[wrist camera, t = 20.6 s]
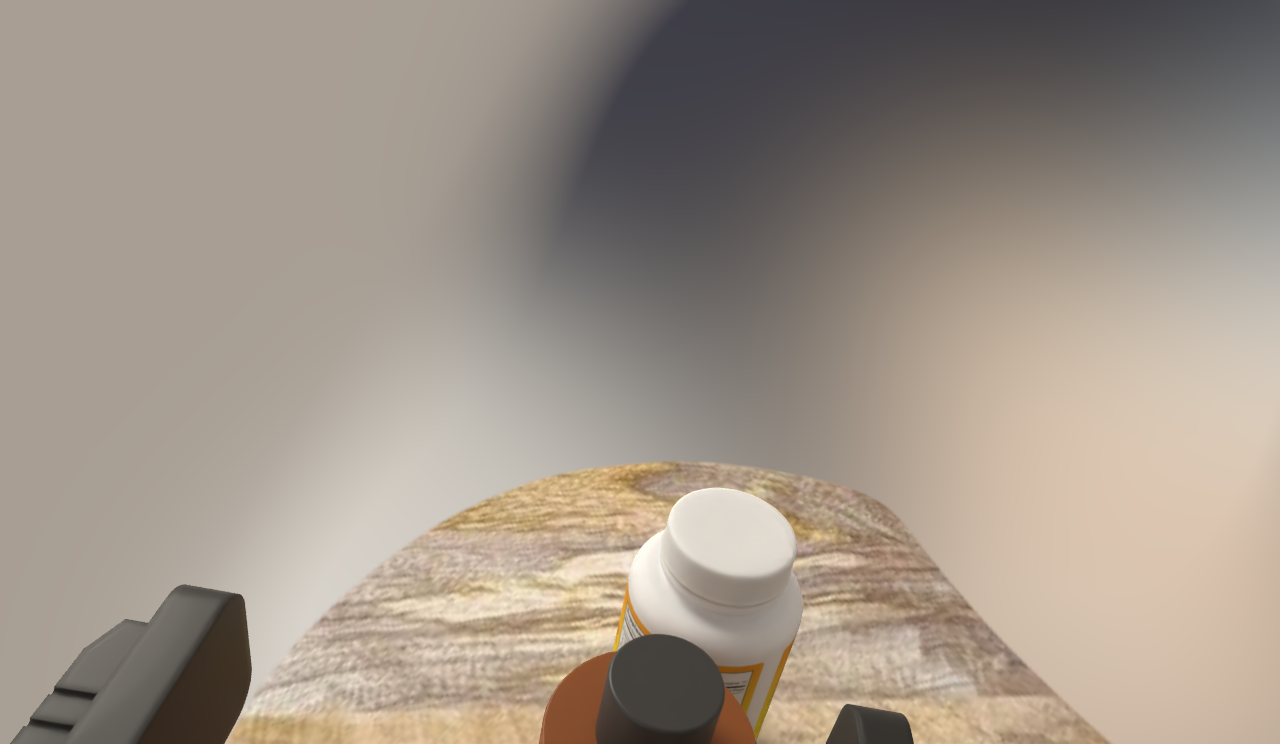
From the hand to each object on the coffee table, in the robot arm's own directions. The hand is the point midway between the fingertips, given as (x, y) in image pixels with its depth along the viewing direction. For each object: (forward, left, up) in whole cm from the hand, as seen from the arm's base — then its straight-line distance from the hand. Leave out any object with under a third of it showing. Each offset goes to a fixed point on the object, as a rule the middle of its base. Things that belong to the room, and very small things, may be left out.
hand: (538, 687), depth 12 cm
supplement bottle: (+5, +12, -18) cm, 22 cm away
